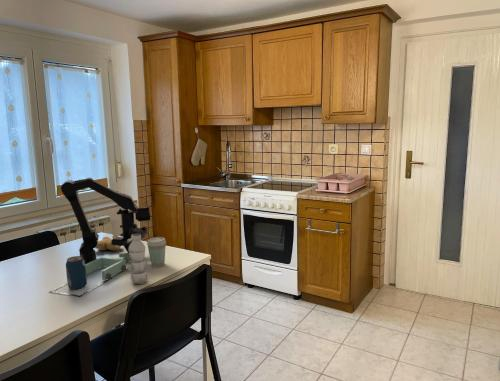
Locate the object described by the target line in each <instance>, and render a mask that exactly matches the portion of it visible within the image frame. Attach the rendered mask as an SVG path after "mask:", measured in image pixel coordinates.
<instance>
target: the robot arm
mask: <svg viewBox="0 0 500 381" xmlns="http://www.w3.org/2000/svg"><path fill="white" fill-rule="evenodd" d="M88 188H89V189H91V190H93V191H95V192H96V193H98V194H100V195H102V196H104V197H106V198H108V199H110V200H111V201H113V202H114V203H115V204H116V205H117V206H119V209H118V210H117V211H116V215H120V219H121V220H120V221H121V222H120V223H121V224H120V225H119V228H121V232H122V233H119V234H120V236H118V237H116V238H114V239H113V238H111V239H112V240H111V243H112V245H117V246H121V247H124V249H125V251H126V253H129V249H128V248H129V245H130V244H131V242H132V240H131V235H133V234H141V240H143V239H145V238H146V235H148V228H147V226H142V227H138V225H137V223H135V221H138V223H139V222H149V221H151V213H150V206H143V207H142V206H141V207H140V206H139V207H138V206H137V205H136V204H135V203H134V200H133V197H132V196H130V195H128V194H125V193H122V192H119V191H116V190H114V189H112V188H110V187H108V186H106V185H104V184H102V183H100V182H98V181H96V180H94V179H93V178H92V177H86V178H83V179H77V180H72V179H68V180H66V181H65V182H63V184H62V185H61V186H60V191H61V192H62V195H63V196H64V197H65V199H67V201H68V202H69V203H70V206H71V208H72V211H73V213H74V216H75V218H76V220H77V223H78V226H79V227H80V231H81V234H82V243H81V244H80V247H79V249H78V251H79V256H82V257H83V259H84V261H85V264H87V263H89V262H92V261H94V260H96V259H97V254H96V250H95V249H96V248H95V247H96V246H97V243H98V241H99V238H100V235H99V234H98V231H97V228H92V226H91V225H90V222H89V219H88V217H87V215H86V212H85V210H84V207H83V205H82V203H81V201H80V196H79V191H80V190H81V191H82V190H84V189H88Z"/></svg>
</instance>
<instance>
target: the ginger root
mask: <svg viewBox="0 0 500 381" xmlns="http://www.w3.org/2000/svg"><path fill="white" fill-rule="evenodd" d="M116 237H119V236H118V234H115V233H113V235H112V238H111V237H109V236H103V237H102V239H101V240H98V243H97V246H96V247H95V248H94V249H97V250H99V251H105V250H110V251H114V252H115V251H116V252H117V251H119V250H120V249H121V247H122V246H117V245H112V243H111V240H112V239H114V238H116Z"/></svg>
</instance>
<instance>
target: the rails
mask: <svg viewBox="0 0 500 381" xmlns="http://www.w3.org/2000/svg"><path fill="white" fill-rule="evenodd" d="M126 271H128V268H126V270H122V271H120V272H118V273H117V274H115V275H113V276H111V278H110V279H106V280H103V282H100V283H98V284H97V285H96V286H93V287H92V288H91V289H89V290H87V291H85V292H83V293H82V294H80V295H79V294H73V293H67V292H59V291H57V290H59V289H61V288H63V287H65V286H66V285H67V286H68V283H67V282H66V283H64V284H62V285H60V286H57V287H56V288H53V289H52V290H50V291H49V293H52V294H58V295H62V296H70V297H75V298H81V297H83V296H84V295H86V294H88V293H91V291H93V290H95V289H96V288H98V287H100V286H102V285H104V284H106V283H107V282H109V281H111V280H113V279H114V278H116V277H117V276H119V275H121V274H123V273H124V272H126Z"/></svg>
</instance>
